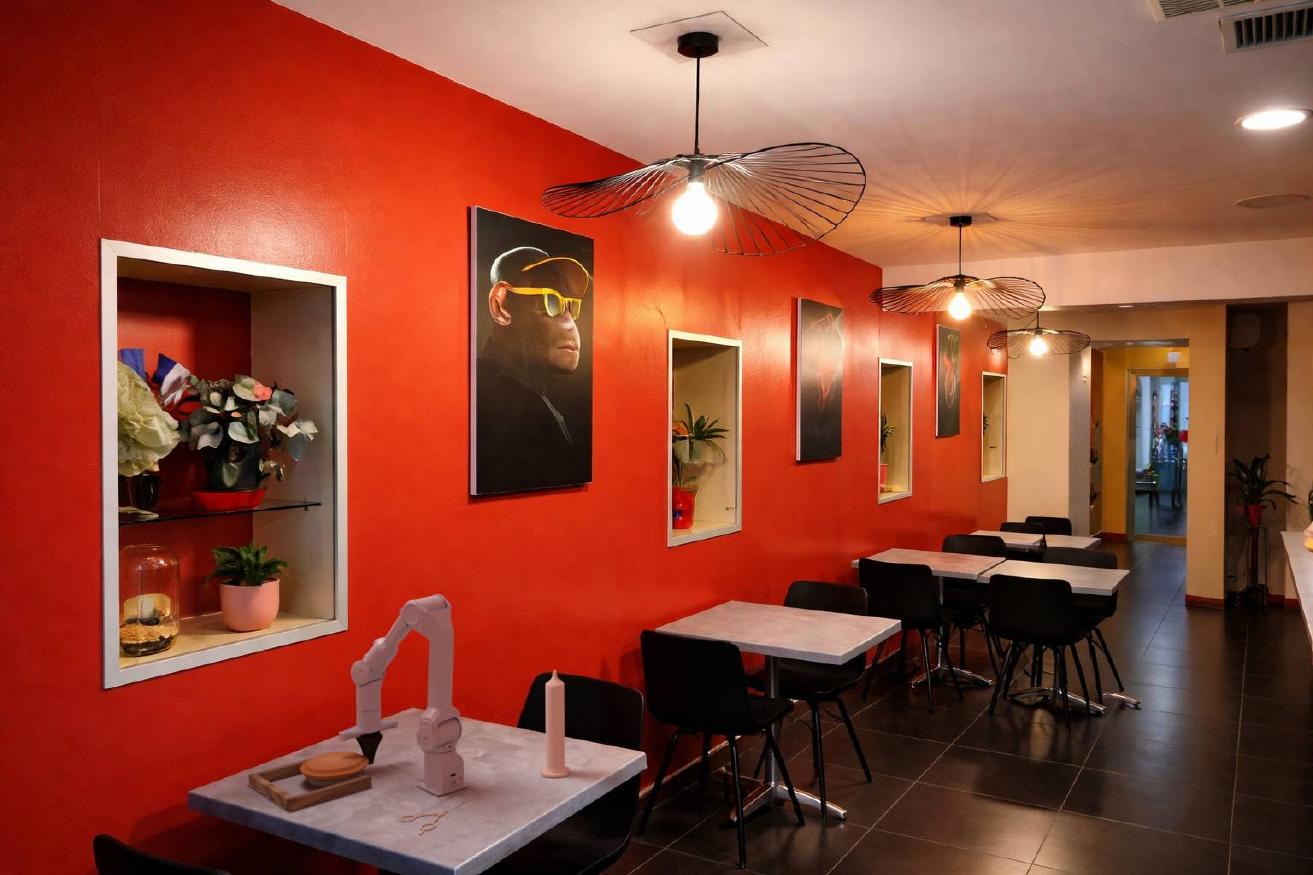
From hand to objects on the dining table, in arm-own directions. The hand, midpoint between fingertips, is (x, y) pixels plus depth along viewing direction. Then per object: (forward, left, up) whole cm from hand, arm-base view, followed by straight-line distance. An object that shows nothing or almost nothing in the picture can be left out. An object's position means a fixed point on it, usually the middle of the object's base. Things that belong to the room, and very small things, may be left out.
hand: (369, 763), depth 230 cm
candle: (-35, -30, -2) cm, 46 cm away
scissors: (-36, +2, -2) cm, 36 cm away
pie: (0, +9, -2) cm, 9 cm away
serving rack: (0, +14, -1) cm, 14 cm away
